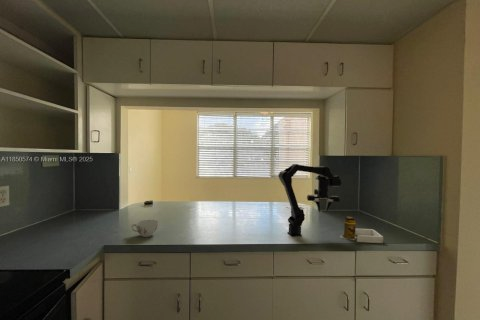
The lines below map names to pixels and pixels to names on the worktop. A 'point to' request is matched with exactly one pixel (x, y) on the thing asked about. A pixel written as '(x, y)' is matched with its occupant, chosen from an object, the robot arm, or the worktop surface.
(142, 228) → the teacup
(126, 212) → the worktop surface
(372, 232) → the corral
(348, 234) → the condiment
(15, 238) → the worktop surface
